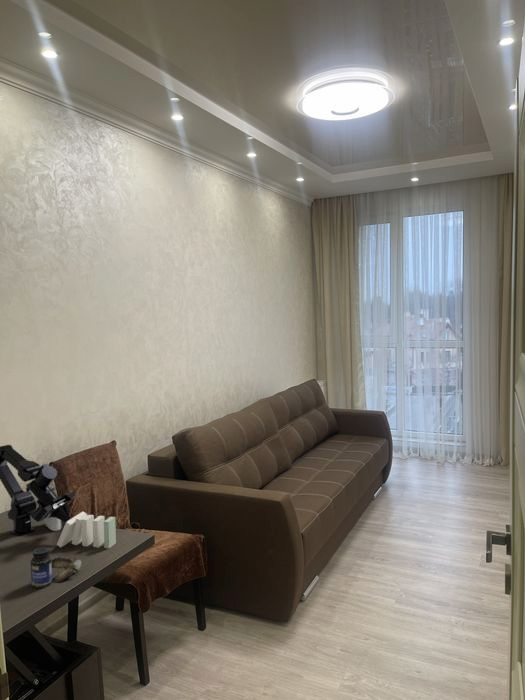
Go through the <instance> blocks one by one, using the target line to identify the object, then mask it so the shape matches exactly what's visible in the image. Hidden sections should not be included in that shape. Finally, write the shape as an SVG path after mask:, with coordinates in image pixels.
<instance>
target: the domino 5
mask: <svg viewBox="0 0 525 700" xmlns="http://www.w3.org/2000/svg"><path fill="white" fill-rule="evenodd" d="M116 524H117V523H116V517H115V516H109V517H108V518H106V519H105V521H104V543H103V547H104V549H110V548H112V547H113V546H114V545H115V544H116V543H117V534H116V533H117V531H116V529H117V528H116Z"/></svg>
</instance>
